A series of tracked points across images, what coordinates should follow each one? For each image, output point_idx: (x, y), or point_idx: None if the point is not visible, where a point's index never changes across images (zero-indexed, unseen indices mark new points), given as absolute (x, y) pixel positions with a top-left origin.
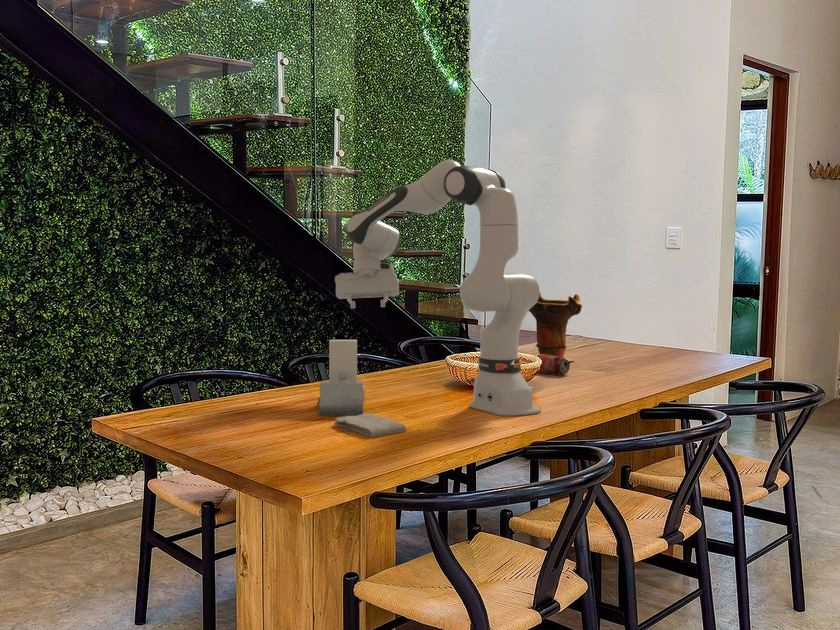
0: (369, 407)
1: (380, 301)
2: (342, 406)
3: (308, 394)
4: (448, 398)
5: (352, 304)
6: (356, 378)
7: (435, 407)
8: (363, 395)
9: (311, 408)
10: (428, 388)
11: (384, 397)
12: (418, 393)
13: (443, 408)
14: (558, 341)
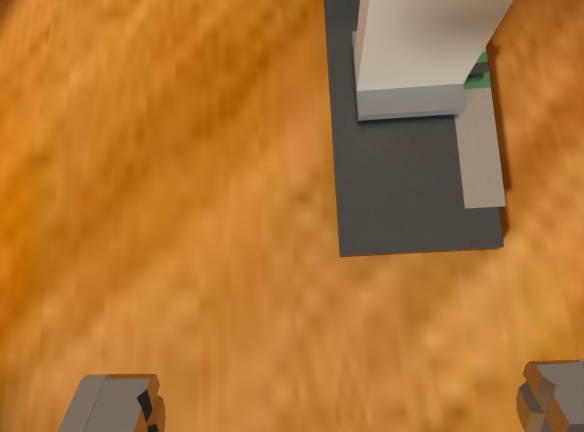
0: (305, 41)
1: (140, 407)
2: None
3: (572, 262)
4: (24, 211)
5: (578, 369)
6: (358, 17)
7: (86, 57)
8: (335, 149)
9: None
10: None
11: (258, 217)
12: (126, 305)
13: (62, 44)
14: None
